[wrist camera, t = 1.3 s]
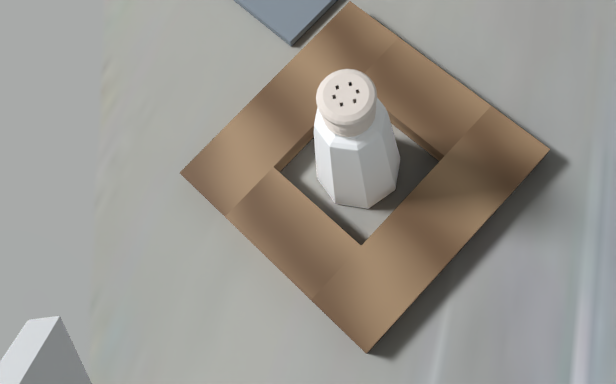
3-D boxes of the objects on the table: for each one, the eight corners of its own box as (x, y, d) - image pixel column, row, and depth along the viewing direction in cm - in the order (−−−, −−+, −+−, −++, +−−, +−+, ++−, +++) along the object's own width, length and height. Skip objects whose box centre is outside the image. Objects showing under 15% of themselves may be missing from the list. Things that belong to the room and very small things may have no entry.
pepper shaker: (390, 120, 37) (390, 28, 27) (411, 199, 36) (419, 134, 25) (309, 140, 38) (277, 57, 27) (325, 219, 36) (299, 162, 26)
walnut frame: (351, 13, 40) (349, 1, 38) (543, 157, 35) (550, 149, 34) (187, 179, 38) (179, 172, 37) (367, 353, 34) (366, 353, 32)
